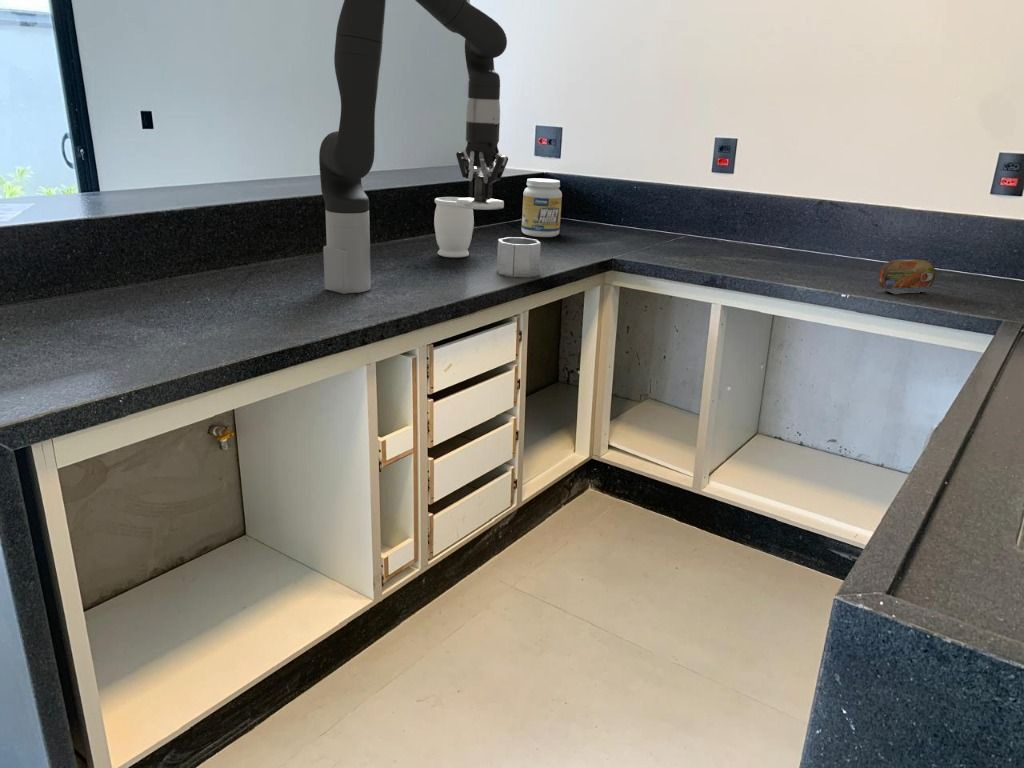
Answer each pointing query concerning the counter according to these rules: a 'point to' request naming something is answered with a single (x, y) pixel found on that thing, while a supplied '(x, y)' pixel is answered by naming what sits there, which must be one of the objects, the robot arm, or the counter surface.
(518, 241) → the pot
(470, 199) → the lid
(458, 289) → the counter surface
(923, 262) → the tin
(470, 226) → the jar
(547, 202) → the supplement tub
